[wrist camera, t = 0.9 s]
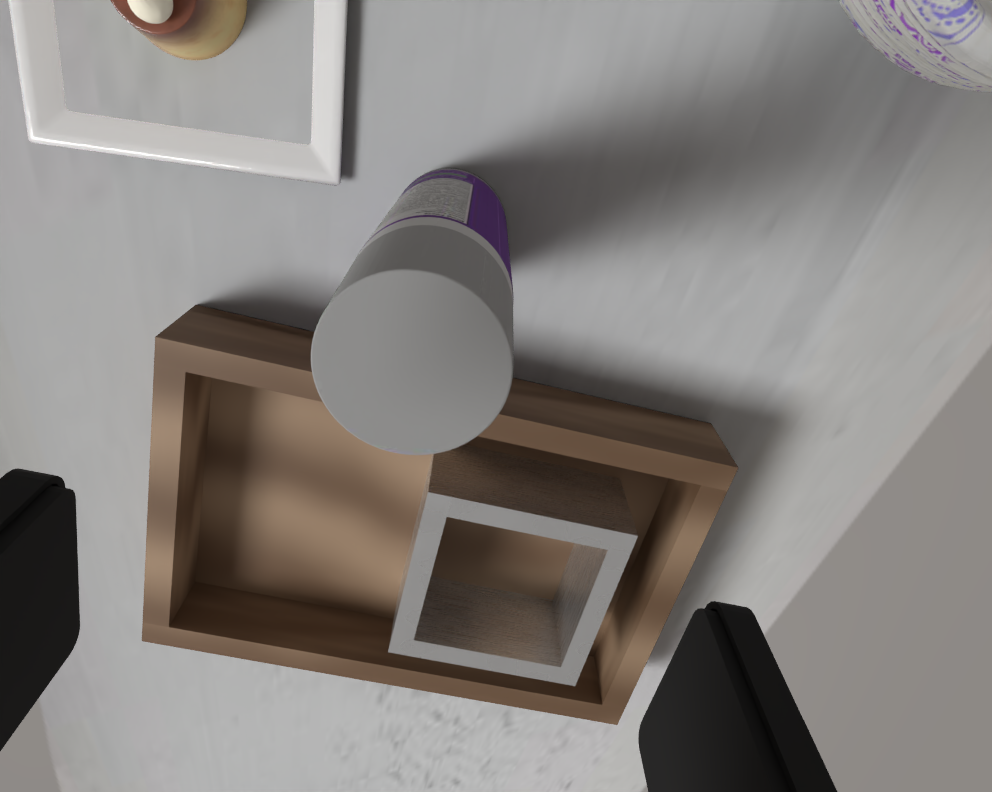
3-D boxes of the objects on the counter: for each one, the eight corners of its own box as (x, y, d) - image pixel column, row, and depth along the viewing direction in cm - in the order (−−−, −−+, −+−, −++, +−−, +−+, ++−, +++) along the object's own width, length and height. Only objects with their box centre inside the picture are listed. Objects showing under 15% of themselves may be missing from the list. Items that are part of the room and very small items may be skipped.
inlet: (436, 438, 32) (428, 492, 28) (620, 478, 33) (637, 536, 29) (399, 585, 36) (387, 652, 32) (565, 617, 37) (575, 686, 33)
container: (513, 272, 29) (532, 446, 16) (406, 288, 30) (334, 473, 16) (497, 159, 27) (502, 246, 14) (382, 177, 28) (277, 280, 14)
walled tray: (196, 304, 30) (155, 337, 26) (711, 423, 33) (738, 467, 29) (176, 584, 37) (141, 640, 33) (605, 664, 39) (617, 724, 36)
